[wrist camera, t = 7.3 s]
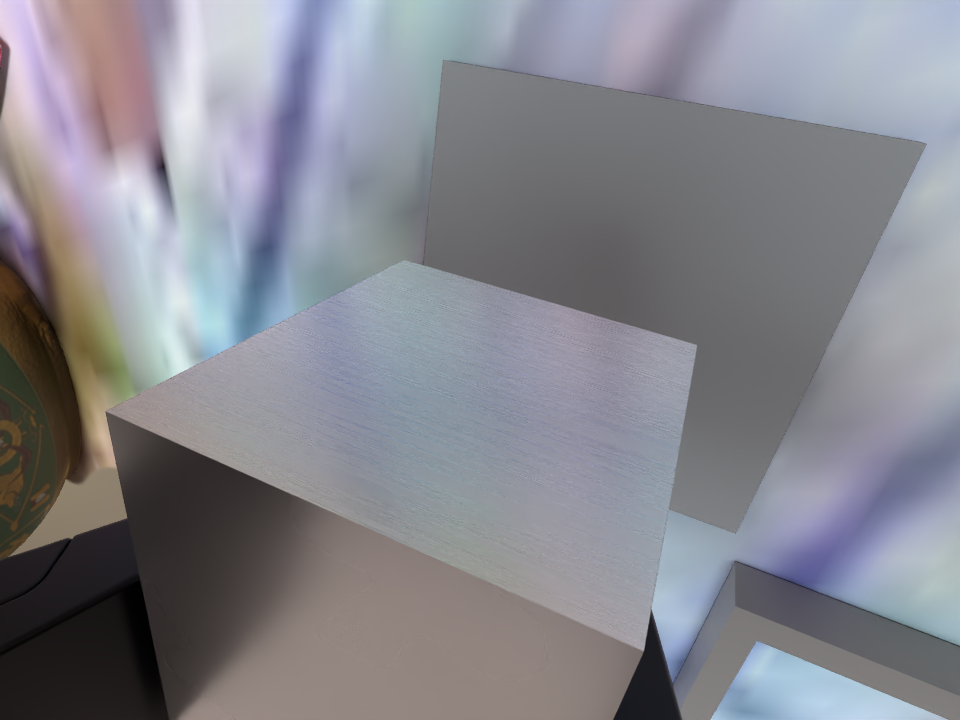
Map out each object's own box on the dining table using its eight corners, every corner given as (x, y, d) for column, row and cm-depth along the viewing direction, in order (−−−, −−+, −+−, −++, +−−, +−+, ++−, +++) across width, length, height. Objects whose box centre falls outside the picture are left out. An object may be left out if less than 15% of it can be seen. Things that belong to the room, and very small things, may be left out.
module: (697, 345, 8) (643, 650, 4) (579, 664, 11) (480, 1014, 7) (402, 259, 9) (105, 411, 5) (377, 569, 12) (190, 818, 8)
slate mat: (920, 142, 13) (926, 143, 13) (736, 523, 19) (735, 533, 18) (450, 60, 16) (443, 60, 16) (414, 407, 22) (408, 413, 22)
